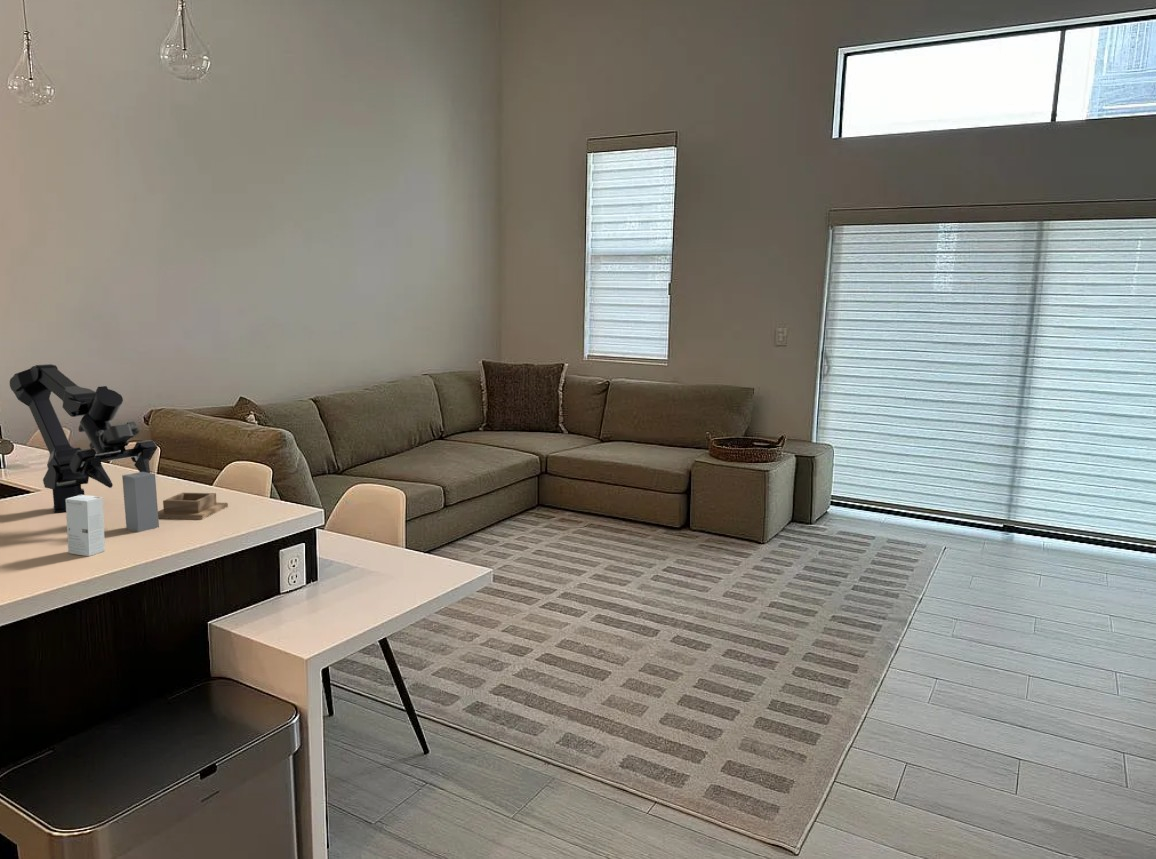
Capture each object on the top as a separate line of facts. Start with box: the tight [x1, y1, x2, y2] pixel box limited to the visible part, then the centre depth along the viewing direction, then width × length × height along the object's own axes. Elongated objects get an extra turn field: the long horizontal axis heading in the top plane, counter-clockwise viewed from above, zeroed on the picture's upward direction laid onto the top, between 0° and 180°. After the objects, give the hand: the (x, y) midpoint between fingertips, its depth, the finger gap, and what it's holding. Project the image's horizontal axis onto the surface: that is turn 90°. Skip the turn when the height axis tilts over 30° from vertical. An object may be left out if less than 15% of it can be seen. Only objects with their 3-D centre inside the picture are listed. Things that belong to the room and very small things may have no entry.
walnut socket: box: [158, 492, 229, 520], centre depth 207 cm, size 13×13×4 cm
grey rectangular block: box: [121, 471, 160, 533], centre depth 192 cm, size 5×5×13 cm
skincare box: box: [65, 494, 106, 557], centre depth 173 cm, size 6×4×12 cm
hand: (130, 483), depth 193 cm, fingers open, 9 cm apart
